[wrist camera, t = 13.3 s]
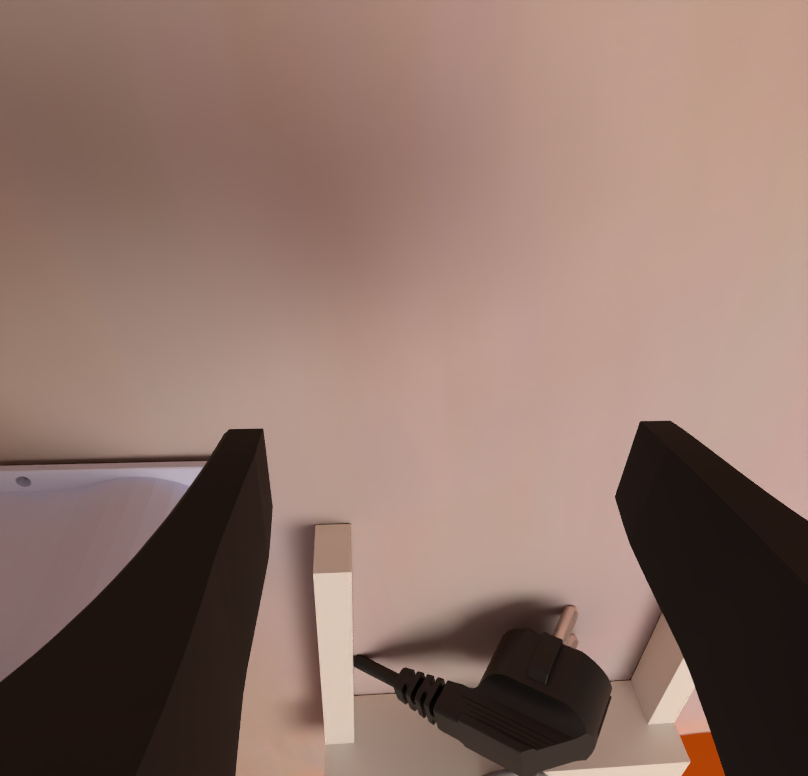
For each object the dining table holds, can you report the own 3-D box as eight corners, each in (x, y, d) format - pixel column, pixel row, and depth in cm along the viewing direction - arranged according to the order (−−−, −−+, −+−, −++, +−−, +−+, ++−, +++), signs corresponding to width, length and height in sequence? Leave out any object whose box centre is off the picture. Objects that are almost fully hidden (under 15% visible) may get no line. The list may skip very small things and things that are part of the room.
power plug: (336, 643, 30) (579, 767, 24) (413, 531, 35) (632, 610, 29) (359, 701, 33) (578, 822, 28) (427, 591, 38) (625, 673, 32)
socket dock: (328, 730, 37) (326, 823, 33) (315, 524, 26) (310, 626, 22) (638, 711, 38) (672, 798, 34) (740, 511, 28) (805, 603, 24)
